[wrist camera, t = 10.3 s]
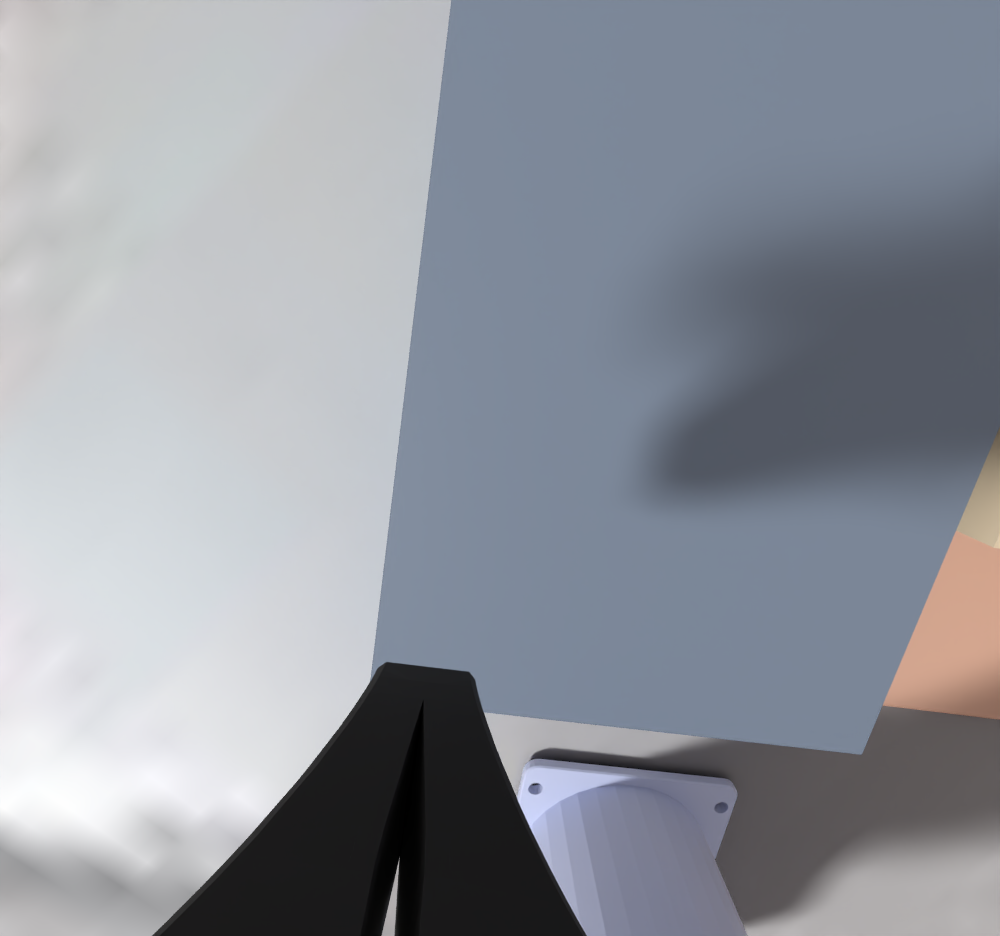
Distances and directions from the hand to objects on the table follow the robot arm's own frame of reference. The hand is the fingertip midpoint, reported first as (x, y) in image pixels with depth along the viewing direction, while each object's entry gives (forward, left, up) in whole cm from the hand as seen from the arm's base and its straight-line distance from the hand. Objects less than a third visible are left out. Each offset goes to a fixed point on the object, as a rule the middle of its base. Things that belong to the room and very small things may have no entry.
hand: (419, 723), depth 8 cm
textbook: (+5, -6, -9) cm, 12 cm away
